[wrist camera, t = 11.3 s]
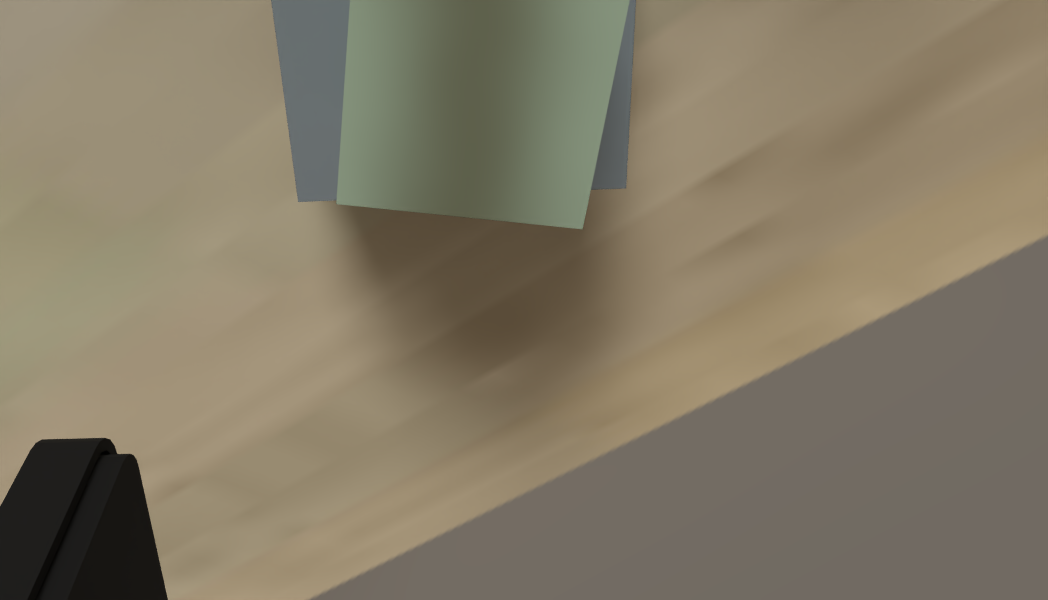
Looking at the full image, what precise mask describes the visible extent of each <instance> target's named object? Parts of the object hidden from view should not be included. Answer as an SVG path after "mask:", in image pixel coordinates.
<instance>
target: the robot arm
mask: <svg viewBox="0 0 1048 600" xmlns="http://www.w3.org/2000/svg"><path fill="white" fill-rule="evenodd" d="M0 600H168V598H167V594H166V589H165V585H164V580H163V576H162V571H161V567H160V562H159V557H158V553H157V548H156V544H155V539H154V535H153V530H152V526H151V521H150V516H149V512H148V507H147V503H146V498H145V494H144V489H143V485H142V480H141V475H140V471H139V466H138V463H137V460H136V458H135V457H134V455H132V454H117V452H116V449H115V446H114V444H113V443H112V442H111V440H110V439H107V438H86V439H46V440H40V441H39V442H37V443H36V444H35V445H34V446H33V448H32V449H31V450H30V452H29V454H28V456H27V458H26V460H25V461H24V463H23V465H22V467H21V469H20V471H19V473H18V474H17V476H16V478H15V480H14V482H13V484H12V486H11V488H10V489H9V491H8V493H7V495H6V497H5V499H4V501H3V502H2V504H1V506H0Z"/></svg>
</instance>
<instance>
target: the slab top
mask: <svg viewBox="0 0 1048 600" xmlns="http://www.w3.org/2000/svg"><path fill="white" fill-rule="evenodd" d="M271 2H272V9H273V17H274V24H275V32H276V39H277V47H278V54H279V61H280V69H281V76H282V84H283V91H284V99H285V106H286V114H287V121H288V129H289V136H290V144H291V151H292V159H293V166H294V174H295V181H296V189H297V196H298V202H307V201H331V200H337V186H338V172H339V157H340V142H341V127H342V112H343V97H344V82H345V67H346V52H347V37H348V22H349V7H350V0H271ZM635 7H636V0H630V1H629V6H628V11H627V16H626V21H625V26H624V31H623V36H622V40H621V45H620V50H619V55H618V60H617V65H616V70H615V74H614V79H613V84H612V89H611V94H610V99H609V104H608V108H607V113H606V118H605V123H604V128H603V133H602V138H601V142H600V147H599V152H598V157H597V162H596V167H595V172H594V176H593V181H592V186H591V190H596V189H620V188H626V180H627V161H628V141H629V122H630V103H631V84H632V65H633V45H634V26H635Z"/></svg>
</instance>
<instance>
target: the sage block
mask: <svg viewBox="0 0 1048 600" xmlns="http://www.w3.org/2000/svg"><path fill="white" fill-rule="evenodd" d="M629 1H630V0H350V7H349V22H348V37H347V52H346V67H345V82H344V97H343V112H342V127H341V142H340V157H339V172H338V186H337V201H336V204H341V205H350V206H360V207H370V208H380V209H389V210H399V211H409V212H419V213H428V214H438V215H448V216H458V217H468V218H477V219H487V220H497V221H507V222H516V223H526V224H536V225H546V226H555V227H565V228H575V229H583V225H584V220H585V215H586V210H587V206H588V201H589V196H590V191H591V186H592V181H593V176H594V172H595V167H596V162H597V157H598V152H599V147H600V142H601V138H602V133H603V128H604V123H605V118H606V113H607V108H608V104H609V99H610V94H611V89H612V84H613V79H614V74H615V70H616V65H617V60H618V55H619V50H620V45H621V40H622V36H623V31H624V26H625V21H626V16H627V11H628V6H629Z"/></svg>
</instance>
